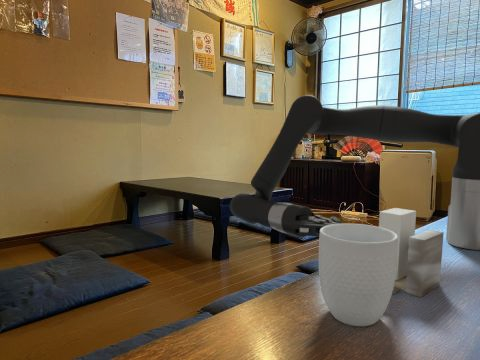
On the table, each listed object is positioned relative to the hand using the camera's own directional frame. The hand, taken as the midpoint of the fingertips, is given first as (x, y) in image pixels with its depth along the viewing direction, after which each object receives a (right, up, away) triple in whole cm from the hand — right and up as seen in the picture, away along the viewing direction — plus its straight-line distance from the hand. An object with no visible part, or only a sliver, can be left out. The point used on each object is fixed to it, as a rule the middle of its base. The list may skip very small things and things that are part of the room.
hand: (352, 233), depth 72 cm
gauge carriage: (+5, -7, -8) cm, 11 cm away
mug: (-5, -10, -19) cm, 22 cm away
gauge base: (+5, -8, -7) cm, 11 cm away
